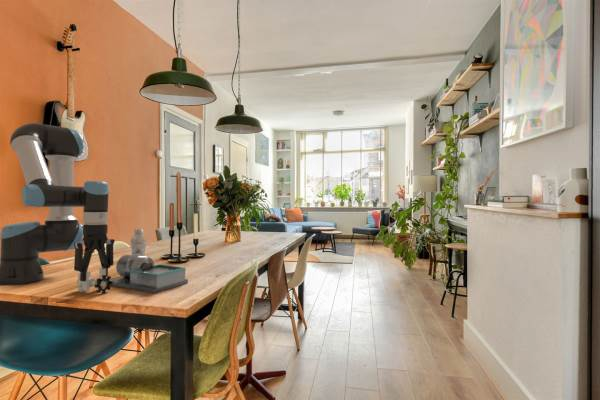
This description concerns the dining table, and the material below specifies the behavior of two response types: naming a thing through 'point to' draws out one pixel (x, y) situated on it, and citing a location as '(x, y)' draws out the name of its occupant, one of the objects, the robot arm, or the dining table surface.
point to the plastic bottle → (138, 243)
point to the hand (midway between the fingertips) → (94, 287)
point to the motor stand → (147, 274)
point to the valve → (96, 283)
